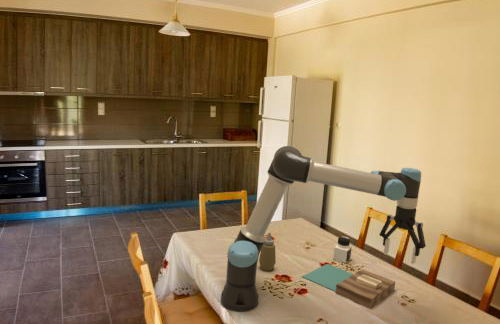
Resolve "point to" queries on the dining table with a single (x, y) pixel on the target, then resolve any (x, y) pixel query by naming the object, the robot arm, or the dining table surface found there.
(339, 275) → the mat
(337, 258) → the medicine bottle
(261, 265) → the squeeze bottle
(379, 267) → the dining table surface
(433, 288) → the dining table surface
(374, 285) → the tile
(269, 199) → the robot arm
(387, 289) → the block
